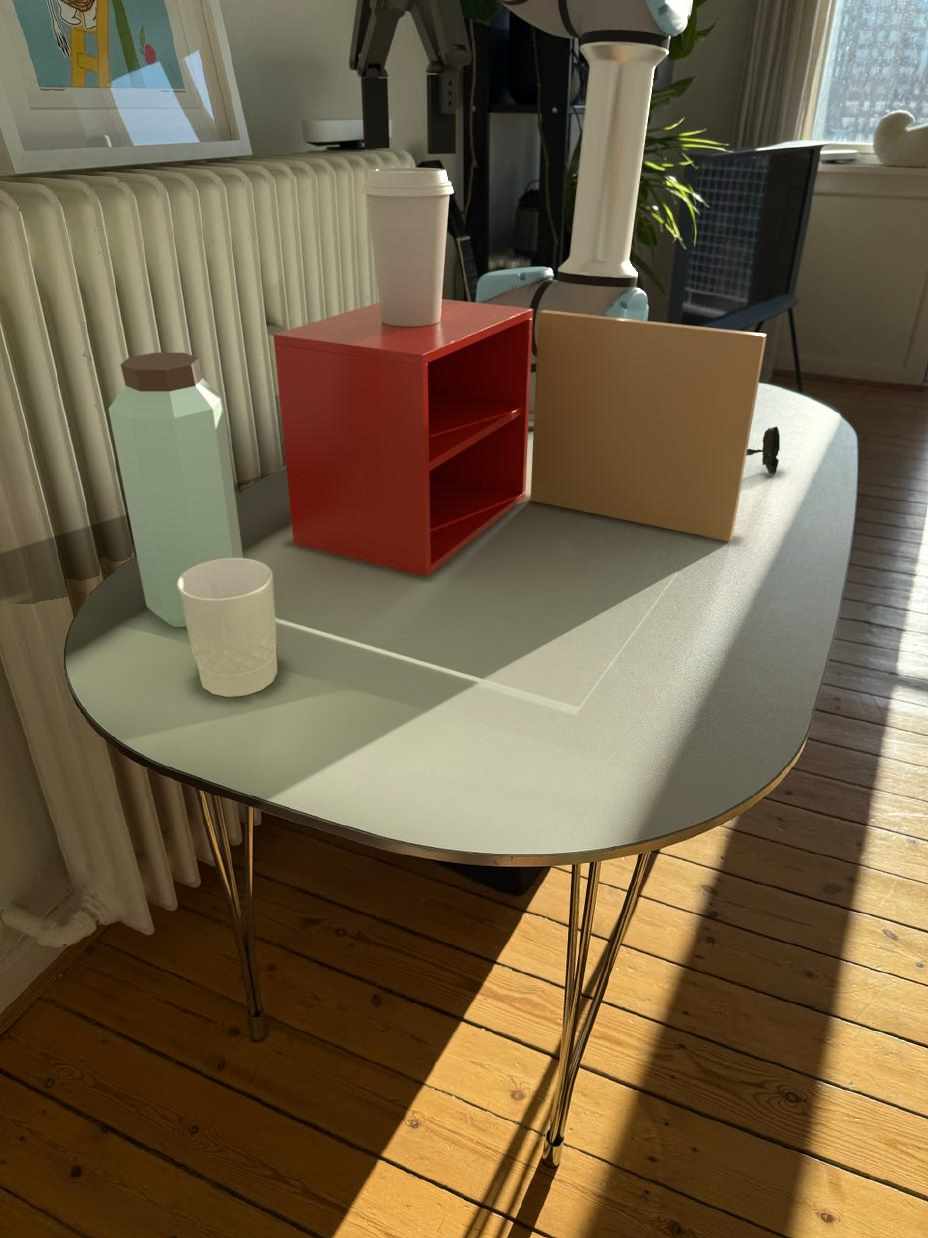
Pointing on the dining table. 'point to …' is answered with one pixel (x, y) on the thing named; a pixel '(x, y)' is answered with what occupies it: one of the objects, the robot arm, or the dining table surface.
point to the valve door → (644, 419)
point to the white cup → (231, 624)
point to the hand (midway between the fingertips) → (407, 151)
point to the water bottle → (174, 473)
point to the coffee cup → (408, 241)
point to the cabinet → (404, 430)
